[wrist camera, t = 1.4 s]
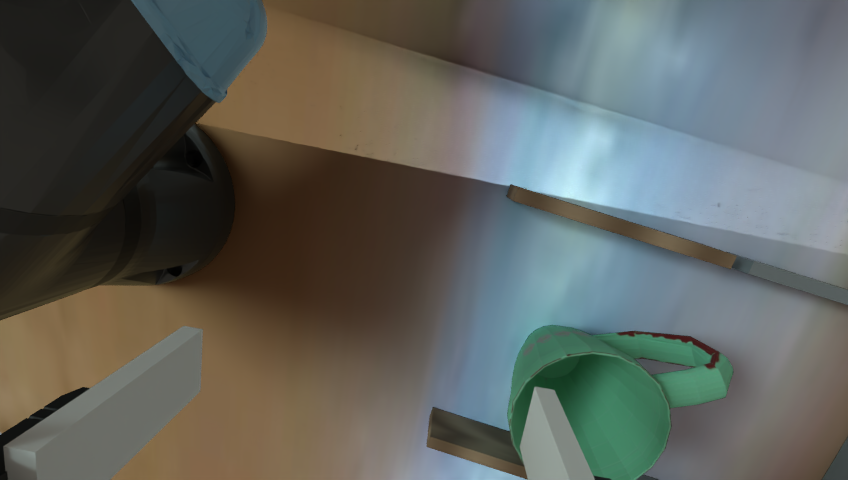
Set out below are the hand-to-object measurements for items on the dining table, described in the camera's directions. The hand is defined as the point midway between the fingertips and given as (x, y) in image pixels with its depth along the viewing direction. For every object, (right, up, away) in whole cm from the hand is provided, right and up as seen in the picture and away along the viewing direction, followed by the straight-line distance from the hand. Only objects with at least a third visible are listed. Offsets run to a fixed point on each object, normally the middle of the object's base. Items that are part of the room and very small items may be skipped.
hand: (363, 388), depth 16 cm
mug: (+16, -3, +19) cm, 25 cm away
